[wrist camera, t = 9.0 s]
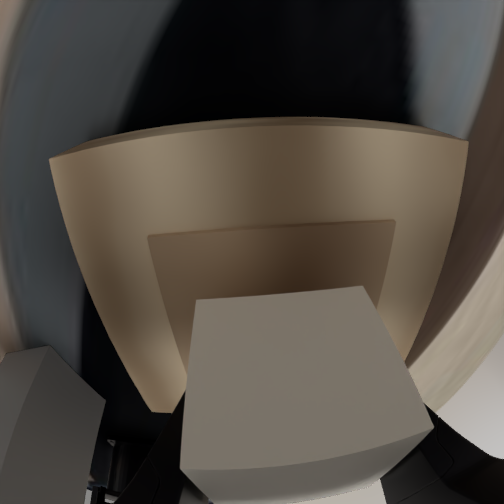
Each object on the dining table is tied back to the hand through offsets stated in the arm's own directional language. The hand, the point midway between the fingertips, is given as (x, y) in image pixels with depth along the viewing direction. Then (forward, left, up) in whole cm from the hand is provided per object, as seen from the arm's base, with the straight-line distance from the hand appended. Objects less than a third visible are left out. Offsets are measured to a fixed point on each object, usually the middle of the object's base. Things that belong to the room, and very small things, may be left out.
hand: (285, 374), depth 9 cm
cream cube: (0, 0, -1) cm, 1 cm away
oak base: (0, 0, -6) cm, 6 cm away
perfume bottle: (-17, -9, -6) cm, 20 cm away
